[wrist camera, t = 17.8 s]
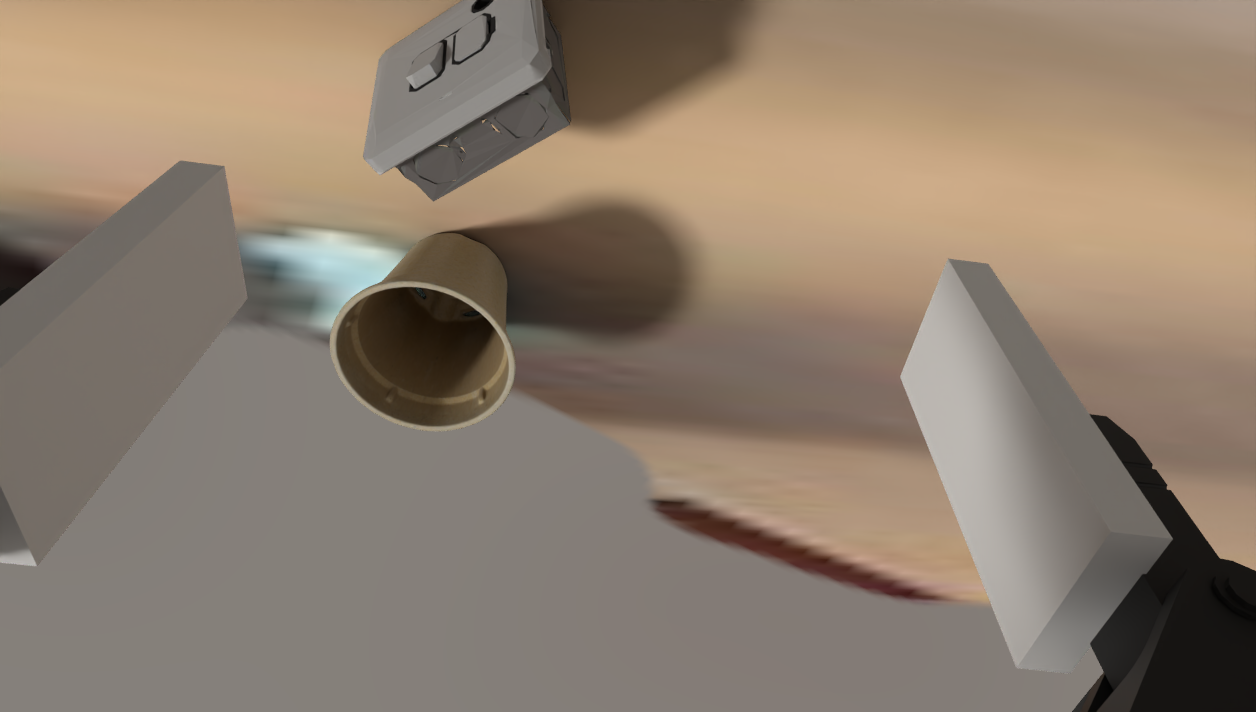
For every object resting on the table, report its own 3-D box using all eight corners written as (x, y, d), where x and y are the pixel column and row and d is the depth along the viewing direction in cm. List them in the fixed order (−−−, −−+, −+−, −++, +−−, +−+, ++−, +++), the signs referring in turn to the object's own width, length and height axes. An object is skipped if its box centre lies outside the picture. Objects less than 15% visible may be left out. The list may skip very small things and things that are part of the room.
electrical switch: (533, -49, 38) (515, 17, 31) (591, 47, 41) (586, 127, 34) (379, 51, 41) (331, 132, 34) (443, 134, 44) (411, 225, 37)
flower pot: (445, 171, 45) (405, 245, 38) (568, 281, 49) (552, 366, 41) (345, 272, 49) (293, 356, 42) (466, 366, 52) (436, 457, 45)
